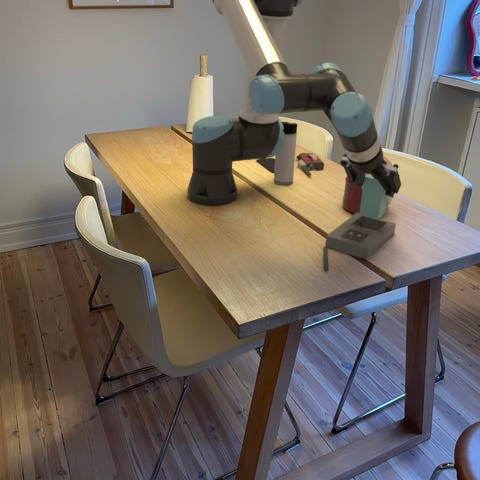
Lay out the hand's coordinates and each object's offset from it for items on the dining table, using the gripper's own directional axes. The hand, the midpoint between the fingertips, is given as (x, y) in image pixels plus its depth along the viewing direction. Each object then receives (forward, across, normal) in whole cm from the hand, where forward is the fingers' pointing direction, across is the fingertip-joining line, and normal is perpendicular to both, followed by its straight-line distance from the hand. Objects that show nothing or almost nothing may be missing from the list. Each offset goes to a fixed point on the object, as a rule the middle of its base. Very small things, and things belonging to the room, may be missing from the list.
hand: (379, 197), depth 126 cm
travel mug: (+18, -38, +4) cm, 42 cm away
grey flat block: (+1, 0, -12) cm, 12 cm away
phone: (+26, -49, +12) cm, 57 cm away
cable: (-9, -3, -23) cm, 25 cm away
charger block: (0, 0, -5) cm, 5 cm away
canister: (+15, -8, +2) cm, 17 cm away
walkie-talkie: (+31, -38, +18) cm, 52 cm away
